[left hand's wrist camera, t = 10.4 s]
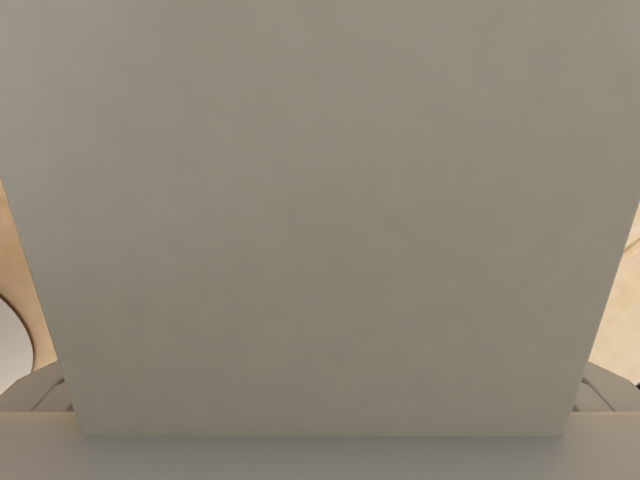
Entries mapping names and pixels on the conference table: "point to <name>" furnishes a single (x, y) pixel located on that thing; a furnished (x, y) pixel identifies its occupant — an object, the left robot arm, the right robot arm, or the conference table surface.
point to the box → (321, 207)
